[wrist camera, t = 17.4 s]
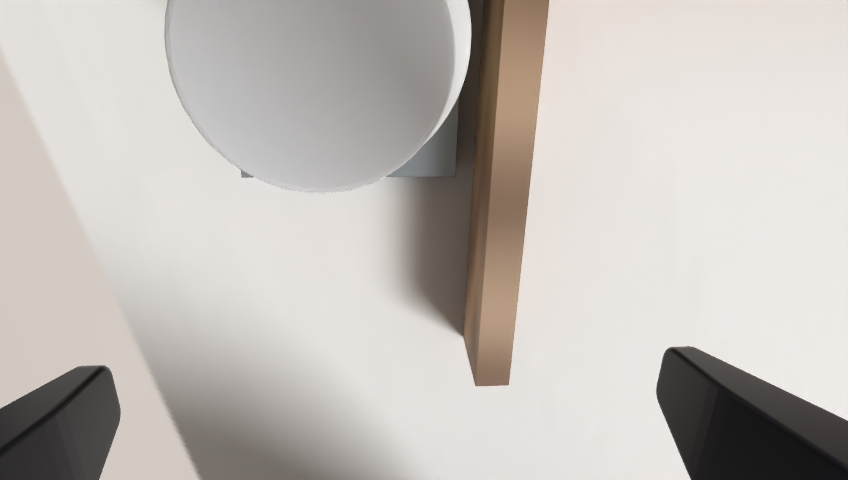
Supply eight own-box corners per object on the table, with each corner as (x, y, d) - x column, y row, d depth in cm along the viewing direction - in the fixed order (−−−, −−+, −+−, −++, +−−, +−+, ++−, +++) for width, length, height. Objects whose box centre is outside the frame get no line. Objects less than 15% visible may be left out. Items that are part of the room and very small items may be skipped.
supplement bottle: (209, -17, 16) (6, -11, 7) (368, -133, 15) (364, -293, 6) (323, 141, 18) (276, 297, 9) (468, 47, 17) (569, 119, 8)
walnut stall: (968, 323, 25) (1041, 366, 22) (463, 338, 23) (475, 386, 20) (1152, -43, 19) (1285, -48, 16) (488, -64, 17) (510, -74, 14)
